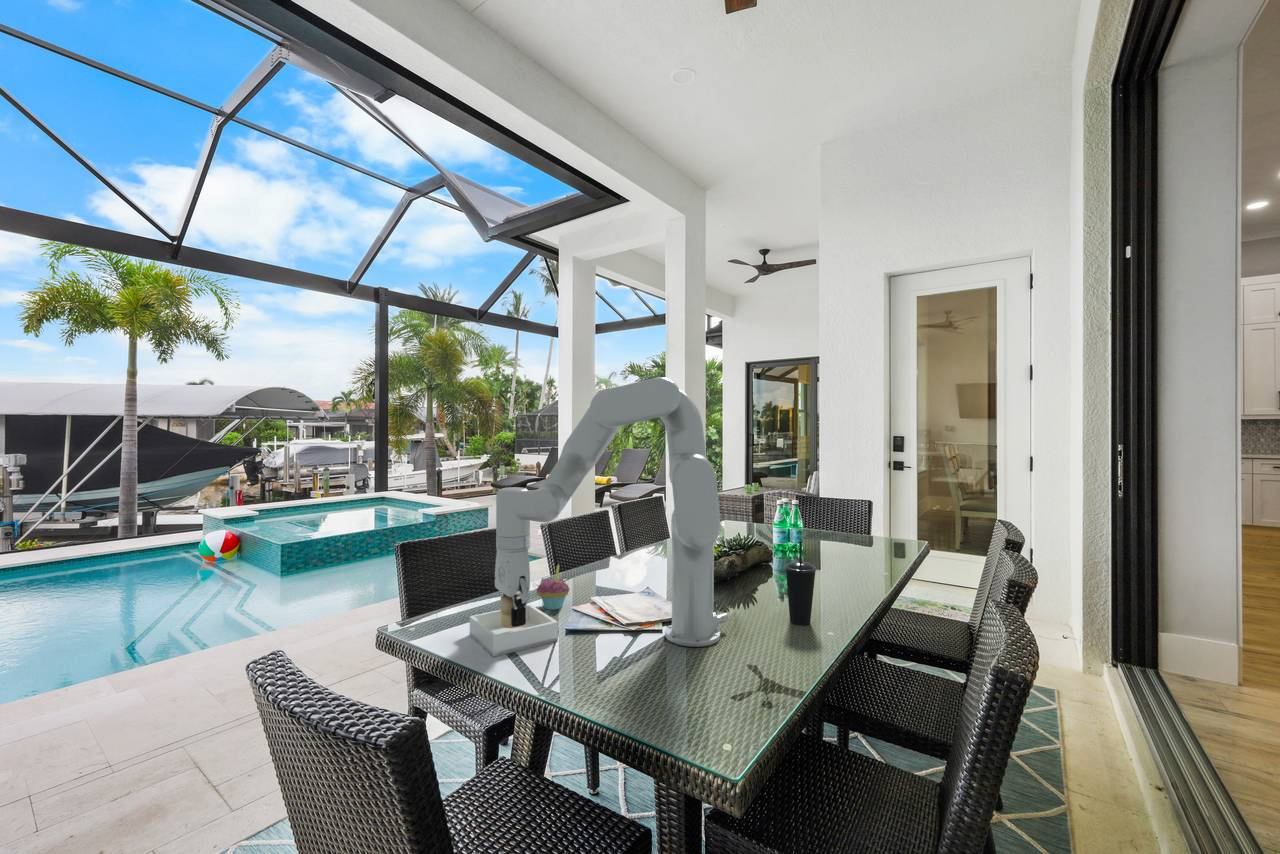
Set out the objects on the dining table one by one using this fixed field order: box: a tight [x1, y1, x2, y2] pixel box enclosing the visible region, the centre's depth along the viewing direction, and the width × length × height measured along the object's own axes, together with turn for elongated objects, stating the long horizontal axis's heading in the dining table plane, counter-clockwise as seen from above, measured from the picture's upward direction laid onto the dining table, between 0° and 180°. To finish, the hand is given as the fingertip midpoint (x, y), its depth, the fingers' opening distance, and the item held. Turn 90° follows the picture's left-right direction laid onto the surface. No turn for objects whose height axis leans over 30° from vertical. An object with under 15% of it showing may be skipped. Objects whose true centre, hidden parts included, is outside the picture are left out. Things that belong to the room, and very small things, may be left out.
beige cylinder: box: [500, 595, 523, 628], centre depth 127 cm, size 5×5×6 cm
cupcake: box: [536, 562, 570, 610], centre depth 148 cm, size 9×8×12 cm
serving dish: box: [469, 603, 559, 658], centre depth 127 cm, size 15×15×4 cm
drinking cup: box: [783, 540, 817, 626], centre depth 138 cm, size 8×8×20 cm
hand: (513, 620), depth 127 cm, fingers closed on beige cylinder, 5 cm apart
